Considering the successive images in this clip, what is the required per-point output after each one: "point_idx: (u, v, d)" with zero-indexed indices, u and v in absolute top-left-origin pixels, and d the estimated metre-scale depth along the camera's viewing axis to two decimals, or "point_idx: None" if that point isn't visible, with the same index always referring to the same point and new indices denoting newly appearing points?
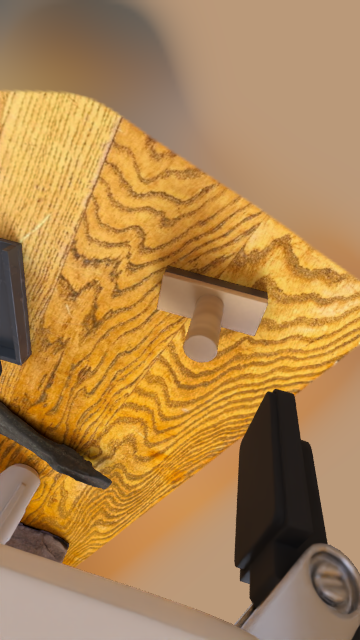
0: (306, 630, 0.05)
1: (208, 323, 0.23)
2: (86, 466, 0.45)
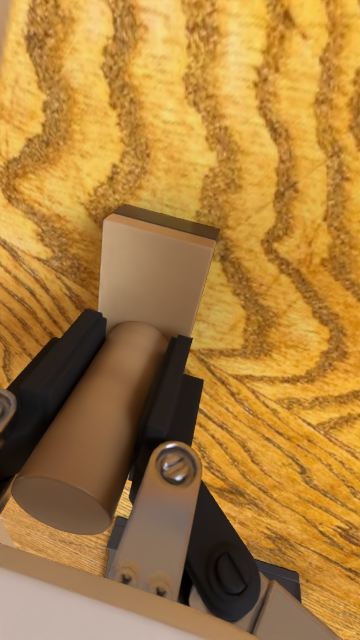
0: (138, 493, 0.07)
1: None
2: None
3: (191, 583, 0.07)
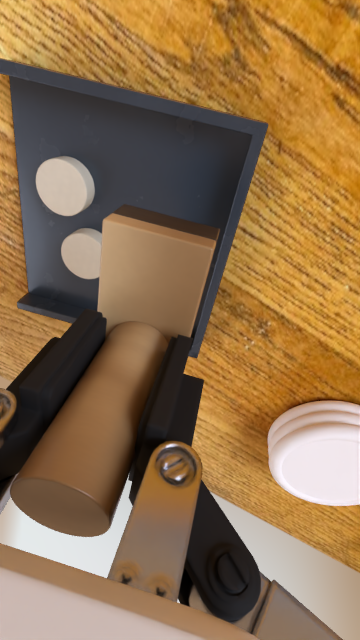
0: (138, 493, 0.07)
1: None
2: None
3: (191, 583, 0.07)
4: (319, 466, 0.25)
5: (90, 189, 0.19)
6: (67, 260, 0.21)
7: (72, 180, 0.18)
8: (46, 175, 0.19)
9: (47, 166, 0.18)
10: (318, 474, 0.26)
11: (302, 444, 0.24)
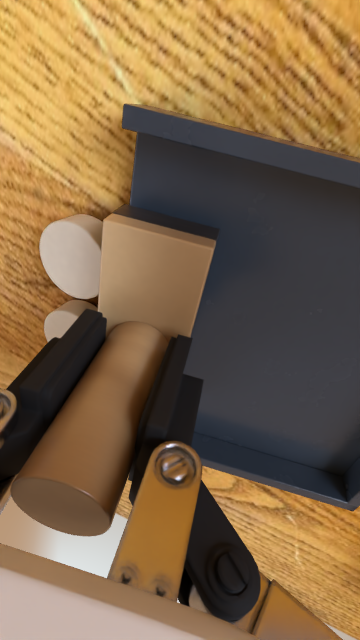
0: (138, 493, 0.07)
1: None
2: None
3: (191, 583, 0.07)
4: None
5: None
6: None
7: (88, 254, 0.12)
8: (52, 242, 0.12)
9: (54, 230, 0.12)
10: None
11: None
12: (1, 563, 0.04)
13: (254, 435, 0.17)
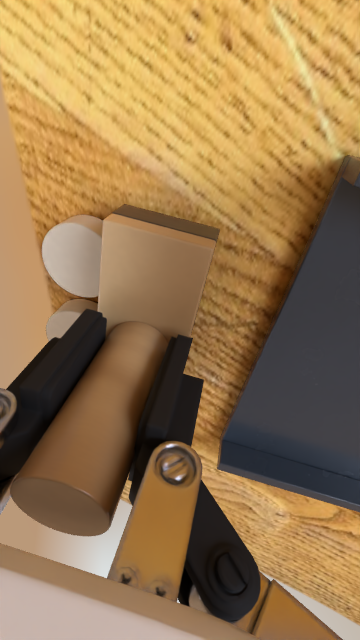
0: (138, 493, 0.07)
1: None
2: None
3: (191, 583, 0.07)
4: None
5: None
6: None
7: (96, 253, 0.12)
8: (57, 244, 0.13)
9: (60, 232, 0.12)
10: None
11: None
12: (1, 563, 0.04)
13: None
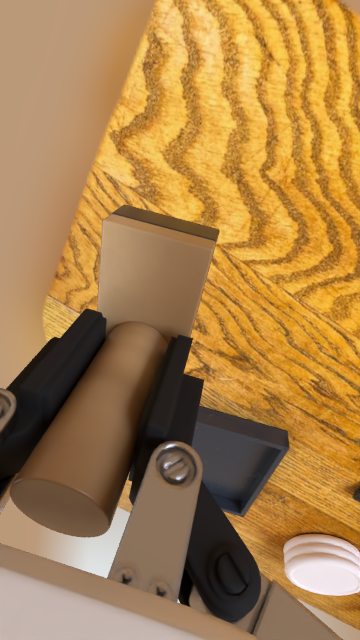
0: (138, 493, 0.07)
1: None
2: None
3: (191, 583, 0.07)
4: (316, 575, 0.42)
5: None
6: None
7: None
8: None
9: None
10: (315, 579, 0.43)
11: (305, 565, 0.41)
12: (1, 563, 0.04)
13: None
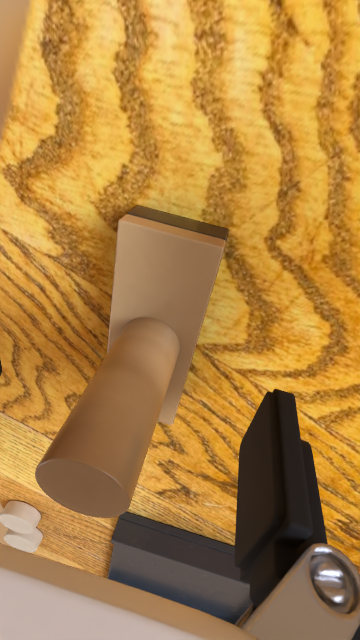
0: (306, 630, 0.05)
1: None
2: None
3: None
4: None
5: (36, 522, 0.28)
6: (9, 543, 0.30)
7: (23, 524, 0.27)
8: (5, 518, 0.27)
9: (5, 516, 0.27)
10: None
11: None
12: (1, 563, 0.04)
13: (186, 605, 0.31)
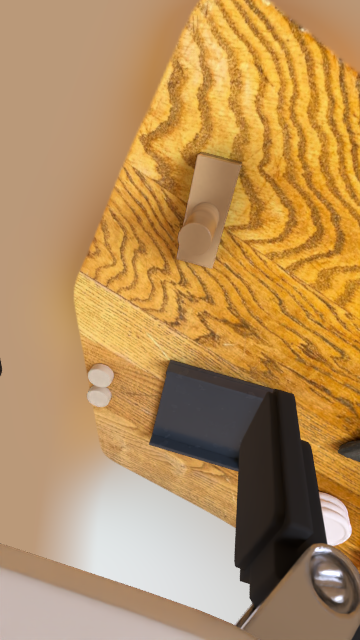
0: (306, 630, 0.05)
1: None
2: None
3: None
4: None
5: (112, 378, 0.42)
6: (89, 399, 0.45)
7: (104, 376, 0.42)
8: (92, 374, 0.42)
9: (93, 371, 0.42)
10: None
11: None
12: (1, 563, 0.04)
13: (207, 445, 0.46)
